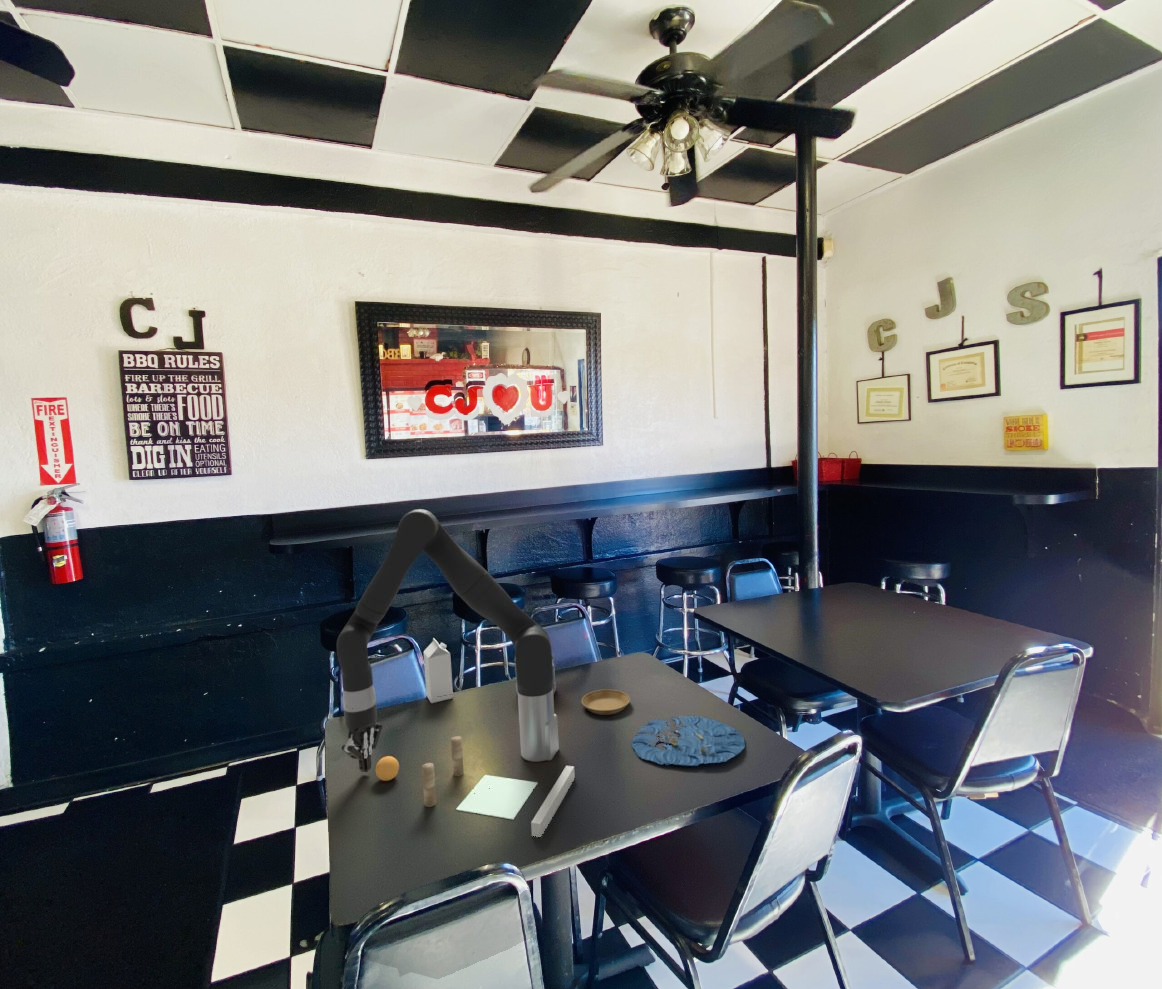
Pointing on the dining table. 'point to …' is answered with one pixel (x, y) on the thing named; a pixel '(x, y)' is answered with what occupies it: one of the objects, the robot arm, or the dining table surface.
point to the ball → (387, 768)
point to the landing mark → (497, 797)
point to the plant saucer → (605, 701)
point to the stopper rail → (552, 802)
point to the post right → (457, 756)
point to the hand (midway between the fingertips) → (365, 770)
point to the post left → (429, 784)
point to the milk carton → (438, 672)
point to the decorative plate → (690, 742)
